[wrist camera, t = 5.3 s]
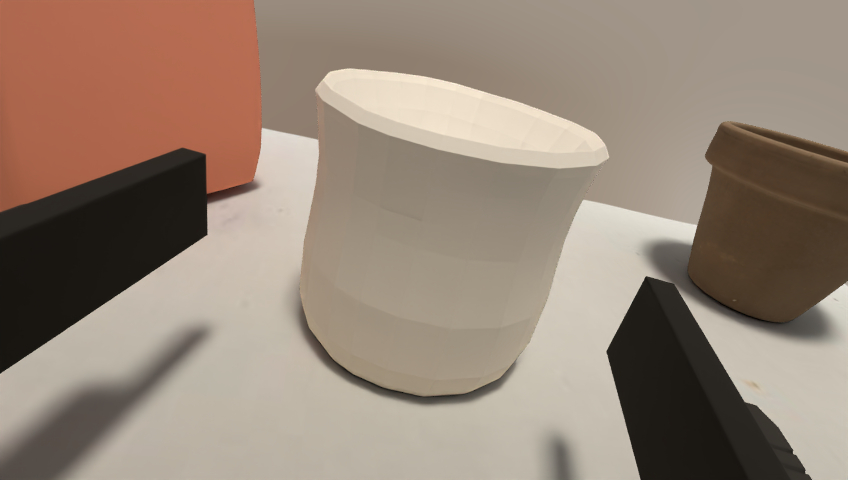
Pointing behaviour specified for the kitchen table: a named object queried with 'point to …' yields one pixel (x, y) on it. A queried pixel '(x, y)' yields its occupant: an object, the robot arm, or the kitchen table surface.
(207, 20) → the teapot
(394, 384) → the cup
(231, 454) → the kitchen table surface
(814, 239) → the flower pot
